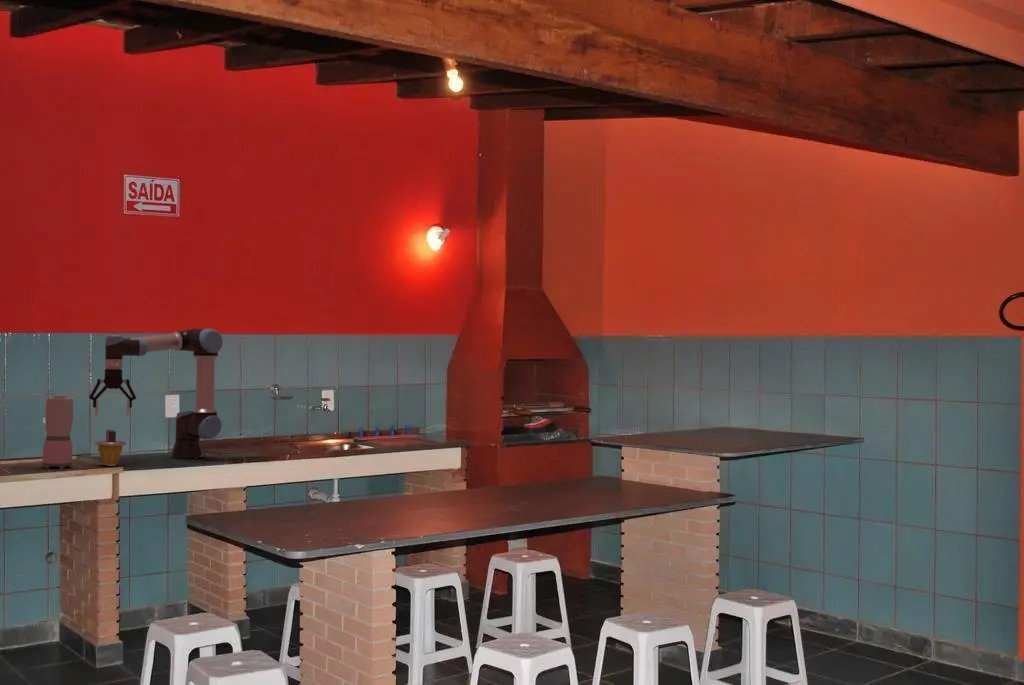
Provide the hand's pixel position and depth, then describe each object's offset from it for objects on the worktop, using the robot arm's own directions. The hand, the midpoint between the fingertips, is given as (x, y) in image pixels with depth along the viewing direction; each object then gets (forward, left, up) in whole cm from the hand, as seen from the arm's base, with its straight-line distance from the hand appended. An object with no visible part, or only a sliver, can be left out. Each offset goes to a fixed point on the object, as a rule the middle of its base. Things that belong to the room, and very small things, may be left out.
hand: (112, 414), depth 494 cm
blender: (+22, +3, -23) cm, 32 cm away
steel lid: (0, 0, -14) cm, 14 cm away
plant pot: (0, 0, -23) cm, 23 cm away
